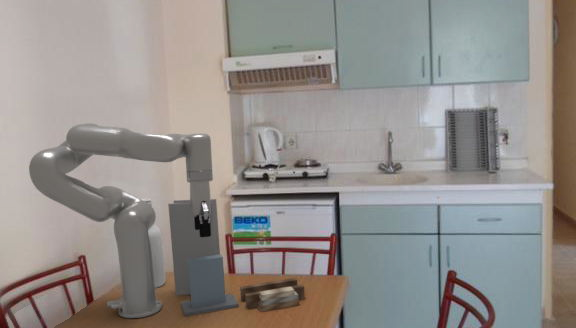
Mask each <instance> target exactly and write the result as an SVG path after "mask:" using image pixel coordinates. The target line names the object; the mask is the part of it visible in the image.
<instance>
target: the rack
mask: <svg viewBox="0 0 576 328" xmlns="http://www.w3.org/2000/svg"><path fill="white" fill-rule="evenodd" d="M286 287H292V288H293V289H294V291H295V292H296V293H297V294H298V299H299V301H301V300H305V299H306V298H305V297H306V296H305V295H306V294H305V286H304V285H303V284H298V279H297V278H296V277H293V278H288V279H287V278H286V279H279V280H274V281H266V282H261V283H255V284H250V285H249V284H248V285H244V286H240V287H239V289H240V291H239V292H240V300H241V301H242V302H245V307H246V308H247V310H249V309H256V308H258V306H257V302H260V297H259V292H262V291H268V290H274V289H280V288H286Z"/></svg>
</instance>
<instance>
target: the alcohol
mask: <svg viewBox="0 0 576 328" xmlns="http://www.w3.org/2000/svg"><path fill="white" fill-rule="evenodd" d="M140 199H141V200H143V201H145V202H146V203H148V204H149V205H151V206H152V203H153V202H152V198H150V197H144V198H140ZM152 207H153V206H152ZM155 222H156V221H155ZM155 222H154V224H153V226H152V227H151V228H150V229H149V230H148V234H149V239H150V244H151V250H152V260H153V271H154V283H155V289H157V288H160V287H162V286H164V285H165V282H166V269H165V258H164V246H163V235H162V231H161V229H160V227H158V225H157V224H156V223H155Z"/></svg>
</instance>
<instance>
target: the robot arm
mask: <svg viewBox="0 0 576 328" xmlns="http://www.w3.org/2000/svg"><path fill="white" fill-rule="evenodd" d="M65 139H66V140H65V141H63V142H62V143H61V144H59V145H58V146H55V147H51V148H47V149H43V150H40V151H39V152H37V153H35V154H34V155H33V157H31V159H30V162H29V165H28V170H29V171H28V173H29V176H30V180H31V182H32V184H33V186H34V187H35V188H36V190H38V192H40V193H41V195H43V196H44V197H47V198H48V199H50V200H52V201H55V202H57V203H59V204H60V205H63V206H65V207H66V208H68V209H70V210H72V211H74V212H76V213H78V214H79V215H82V216H84V217H86V218H88V219H89V220H92V221H94V222H98V223H103V222H106V221H108V220H110V219H112V220H114V223H113V233H114V238H115V242H116V247H117V256H118V263H119V273H120V283H121V285H120V287H121V295H120V296H121V297H119V298H117V300H116V299H115V300H109V301H107V302H106V305H107V306H106V307H107V309H109V308H111V310H116V309H118V315H119V316H121V318H126V319H137V318H138V319H139V318H145V317H149V316H152V315H154V314H156V313H158V312H159V311H160V310H161V309H162V308H163V306H162V304H163V303H162V301H160V300H158V299H157V296H156V288H155V283H154V271H153V260H152V250H151V244H150V239H149V234H148V230H149V229H150V228H151V227H152V226H153V224H154V222H156V218H157V217H156V212H155V209H154V208H153V206H151V205H152V204H151V205H149V204H148V203H146V202H145V201H143V200H141V199H142V198H138V197H137V196H135V195H133V194H131V193H129V192H127V191H125V190H123V189H121V188H118V187H117V186H116V187H115V186H111V185H106V186H101V187H99V188H98V187H95V186H92V185H91V184H88V183H85V182H84V181H83V180H80V179H78V178H75V177H72V176H70V175H67V174H68V173H71V172H72V171H74V170H76V168H78V167H79V166H81V165H82V164H83V163H84V162H86V161H87V160H88V159H89V158H91V157H92V156H94V155H95V156H107V157H116V158H117V157H118V158H123V159H131V160H135V161H136V160H138V161H143V162H144V161H146V162H155V163H156V162H157V163H171V162H174V161H176V160H179V159H181V158H185V169H186V172H185V173H186V183H189V200H190V210H191V212H192V214H193V215H194V216H195V217H194V222H195V230H199V232H200V237H210V236H211V224H210V218H209V215H210V214H211V200H210V199H211V188H210V187H211V186H210V182H212V181H213V180H214V178H213V177H214V176H213V162H212V161H213V159H212V157H213V156H212V140H211V136H210V135H209V134H207V133H191V134H180V133H179V134H178V133H169V134H166V135H165V134H164V135H161V134H160V135H159V134H151V133H150V134H147V133H142V132H141V133H140V132H136V131H132V130H130V129H129V128H126V127H117V126H116V127H113V126H103V125H98V124H95V123H81V124H77V125H74V126H72V127H71V128H69V129H68V131H67V133H66V137H65ZM196 216H197V217H196Z"/></svg>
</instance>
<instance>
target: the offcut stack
mask: <svg viewBox="0 0 576 328" xmlns="http://www.w3.org/2000/svg"><path fill="white" fill-rule="evenodd" d="M259 297H260V302H257V306H258V307H257V309H258V310H259V312H260V313H262V312H267V311H273V310H278V309H285V308H291V307H297V306H300V303H301V302H300V300H299V299H298V294H297V293H296V292H295V291H294V289H293V288H292V287H286V288H280V289H274V290H268V291H262V292H259Z"/></svg>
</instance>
